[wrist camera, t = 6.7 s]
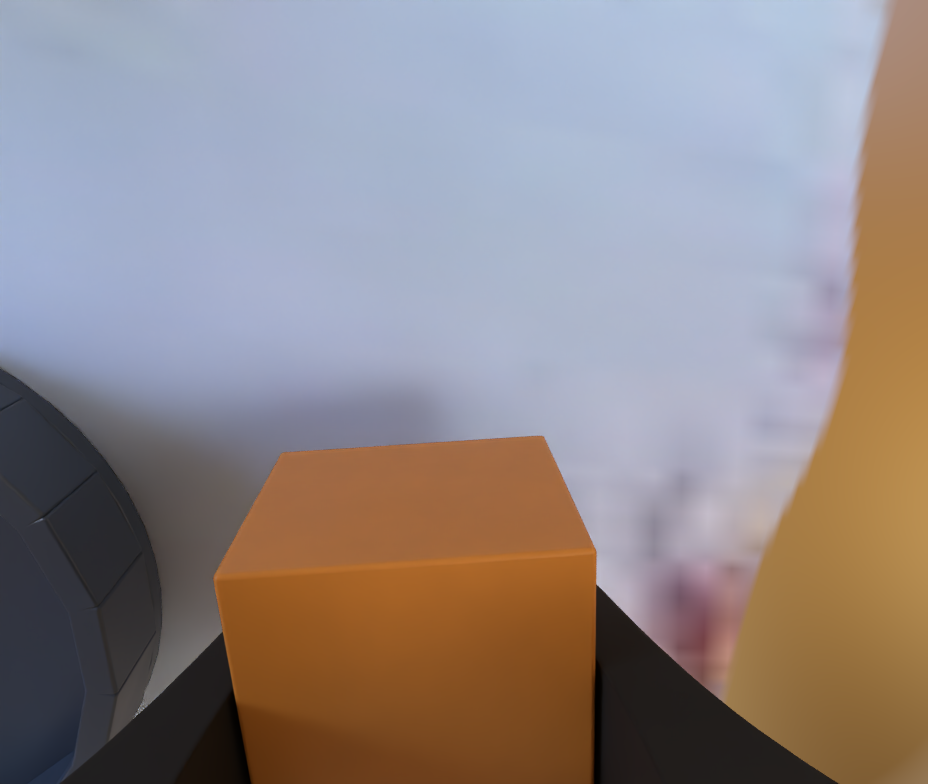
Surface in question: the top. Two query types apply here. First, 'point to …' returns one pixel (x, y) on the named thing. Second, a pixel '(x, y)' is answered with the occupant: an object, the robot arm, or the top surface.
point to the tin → (67, 595)
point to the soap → (413, 618)
